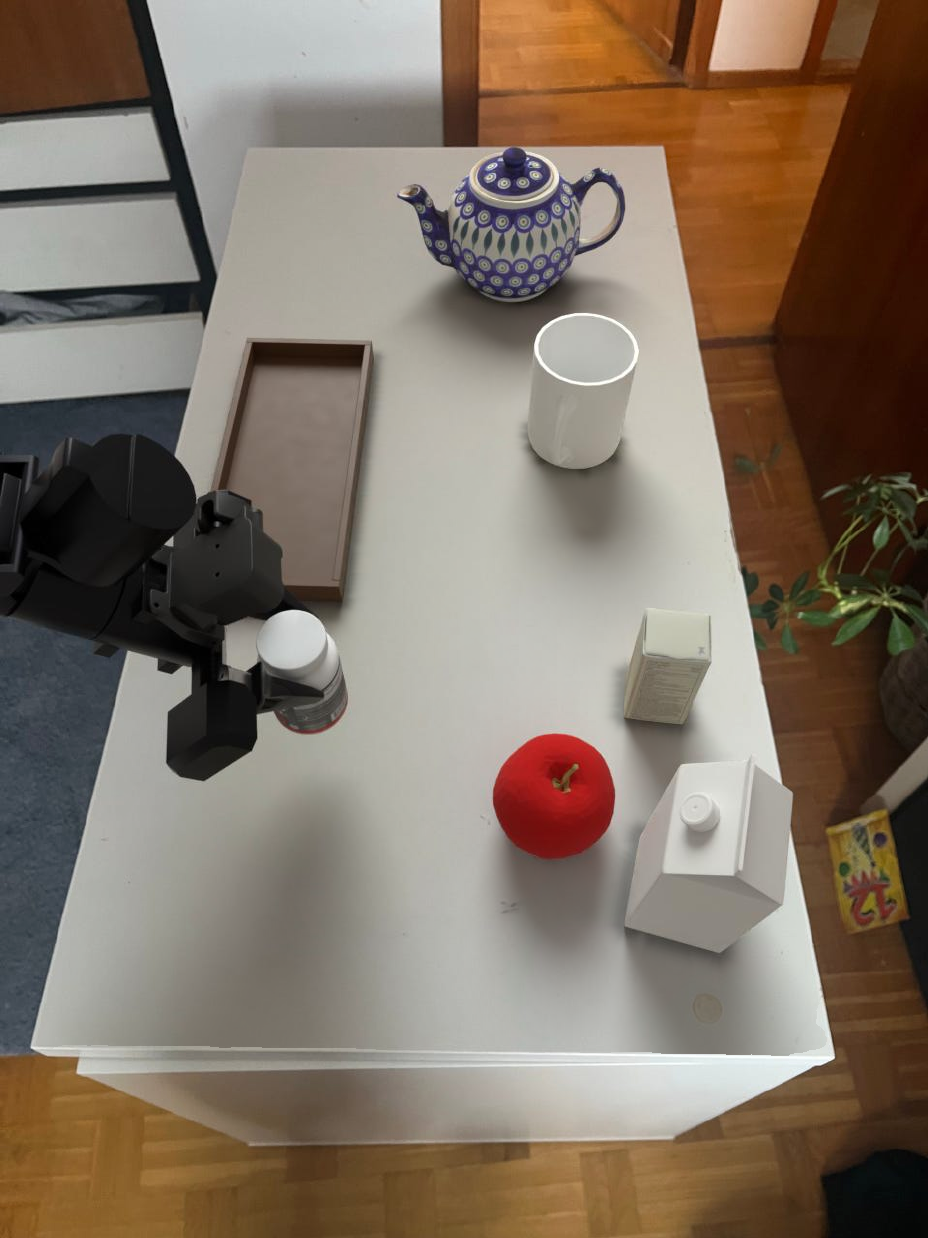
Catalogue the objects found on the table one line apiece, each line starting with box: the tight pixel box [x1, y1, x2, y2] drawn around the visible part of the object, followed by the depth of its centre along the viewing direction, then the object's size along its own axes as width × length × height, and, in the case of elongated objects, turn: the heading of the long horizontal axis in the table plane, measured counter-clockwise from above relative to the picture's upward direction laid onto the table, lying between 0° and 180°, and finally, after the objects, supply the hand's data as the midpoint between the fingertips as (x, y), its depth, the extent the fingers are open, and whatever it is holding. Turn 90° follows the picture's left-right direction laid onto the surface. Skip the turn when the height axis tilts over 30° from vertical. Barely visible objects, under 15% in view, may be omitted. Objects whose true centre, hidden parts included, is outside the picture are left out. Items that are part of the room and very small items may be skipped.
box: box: [623, 607, 713, 725], centre depth 70 cm, size 5×4×11 cm
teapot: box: [396, 146, 626, 303], centre depth 97 cm, size 25×15×15 cm, turn 93°
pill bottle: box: [255, 610, 349, 736], centre depth 63 cm, size 6×6×10 cm
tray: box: [209, 337, 375, 603], centre depth 87 cm, size 31×13×2 cm, turn 178°
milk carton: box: [624, 753, 794, 954], centre depth 58 cm, size 7×7×19 cm
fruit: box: [492, 732, 616, 860], centre depth 65 cm, size 9×9×10 cm
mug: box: [527, 312, 640, 470], centre depth 84 cm, size 10×12×12 cm
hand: (318, 660), depth 61 cm, fingers closed on pill bottle, 6 cm apart
